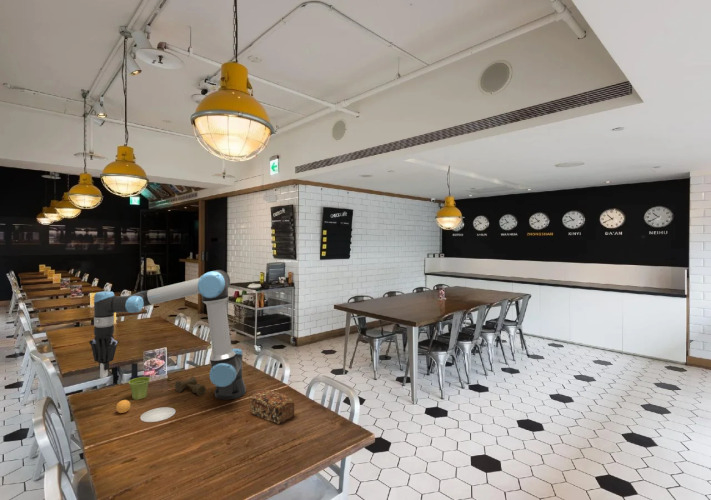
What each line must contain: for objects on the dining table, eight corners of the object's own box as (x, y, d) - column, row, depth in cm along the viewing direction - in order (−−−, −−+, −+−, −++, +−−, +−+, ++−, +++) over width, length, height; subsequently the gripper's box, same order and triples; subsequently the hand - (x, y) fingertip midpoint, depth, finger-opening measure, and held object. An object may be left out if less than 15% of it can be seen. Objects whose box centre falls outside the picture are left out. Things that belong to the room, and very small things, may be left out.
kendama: (193, 399, 183) (170, 389, 194) (209, 393, 191) (187, 384, 202) (193, 387, 183) (171, 378, 193) (210, 382, 191) (187, 373, 202)
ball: (133, 410, 169) (133, 398, 169) (124, 415, 164) (124, 403, 164) (122, 409, 170) (122, 397, 170) (113, 414, 164) (113, 402, 164)
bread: (249, 414, 166) (249, 392, 166) (267, 405, 175) (267, 385, 175) (278, 426, 156) (278, 402, 156) (295, 416, 165) (295, 394, 165)
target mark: (181, 408, 171) (181, 408, 171) (163, 423, 157) (163, 422, 157) (153, 406, 173) (153, 406, 173) (132, 421, 159) (132, 420, 159)
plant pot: (143, 401, 178) (143, 384, 178) (124, 401, 179) (124, 383, 178) (154, 393, 188) (154, 377, 188) (136, 393, 188) (136, 376, 188)
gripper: (84, 326, 164) (84, 379, 165) (110, 327, 163) (110, 380, 163) (97, 323, 172) (97, 373, 172) (123, 324, 170) (123, 374, 171)
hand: (103, 376), depth 168 cm, fingers closed
